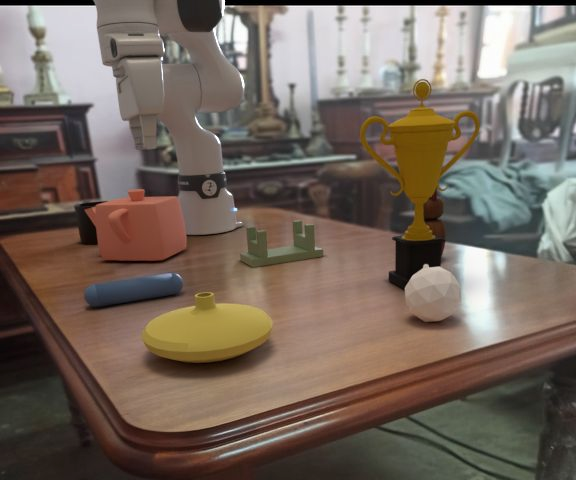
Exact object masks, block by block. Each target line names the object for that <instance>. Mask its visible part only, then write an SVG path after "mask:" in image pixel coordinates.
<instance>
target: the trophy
mask: <svg viewBox="0 0 576 480" xmlns="http://www.w3.org/2000/svg"><path fill="white" fill-rule="evenodd" d="M431 94H432V85H431V82H430V81H429V80H428V79H426V78H420V79H418V80H417V81H415V83H414V84H413V88H412V95H413V97H414V98H415V100H417V101H419V102H420V105H419V106H418V107H415V108H413V109H410V110H409V112H408V113H407V115H406V116H405V117H403V118H400V119H397V120H395V121H393V122H392V123H390V124H389V123H388V122H387V121H386V119H384V118H383V117H380V116H377V115H376V116H370V117H368V118H367V119H366V120H365V121H364V122H363V123H362V125H361V127H360V130H359V139H360V142H361V144H362V147H363V149H364V150H365V151H366V152H367V153H368V154H369V155H370V157H371V158H372V159H374V161H376V163H377V164H378V165H380V166H381V167H382V169H385V171H387V172H388V173H389V174H390V175H391V176H393V177H394V178H395V179H396V180H397V181H398V182H399V184H400V189H399V191H398V192H396V193H394V192H392V190H390V191H389V193H390V194H391V195H392V196H395V197H397V196H400V195H401V194H402V193H403V192H404V194H405V195H406V197H407V198H408V199H409V201H410V202H411V203H413V204H414V210H413V211H414V216H413V217H414V218H413V222H412V223H411V224H410V225H409V226H407V230H405V231H404V234H401V235H395V236H392V237H391V240H392V241H393V242H395V257H394V259H395V261H394V263H395V264H394V265H395V268H394V270H389V271H388V281H389V282H391V283H392V284H394V285H396V286H398V287H399V288H402V289H403V290H405V287H406V285H407V284H408V282H409V280H410V279H411V277H412V276H413V275H414V274H415V273H417V272H418V271H420V270H421V269H423V266H424V265H425V264H428V265H429V268H430V267H442V266H441V265H442V256H441V248H442V242H445V243H446V241H447V239H444V238H442V237H439V236H436V235H433V234H432V230H429V229H430V227H429V226H427V225H426V224H425V222H424V217H423V211H424V210H423V204H424V203H425V202H427V200H428V199H429V197H432V195H433V194H434V192H435V189H436V188H437V190H438V191H440V192H445V191H446V190H448V188H449V187H450V186H449V185H447V186H446V187H445V188H441V187H440V185H439V182H440V179H441V178H442V176H444V174H445V173H446V172H448V170H449V169H450V168H452V167H453V166H454V164H456V163H457V162H458V160H460V159H461V157H463V155H464V154H465V153H466V152H467V151H468V150H469V148H470V147H471V146H472V145H473V143H474V142H475V140H476V139H477V137H478V135H479V132H480V127H481V124H480V120H479V117H478V115H477V114H476V113H475V112H473V111H471V110H463V111H461V112H459V113H458V114H456V115H455V117H454V118H453V120H452V119H450V118H447V117H445V116H441V115H438V114H437V112H436V111H435V110H434V108H432V107H427V106H425V105H424V103H423V102H425V101H427V100H428V99H429V98H430V96H431ZM462 118H469V119H471V120H473V122H474V130H473V134H472V135H471V137H470V138H469V139H468V141H467V142H465V144H464V146H462V148H461V149H460V150H459V151H457V153H456V154H455V155H454V156H453V157H452V158H451V159H450V160H449V161H448V162H447V163H446V164H445V165H444V162H445V158H446V154H447V151H448V145H449V143H450V142H451V141H457V140H458V139H460V138H461V135H462V131H461V128H460V126H459V121H460V120H461V119H462ZM374 123H380V124H381V125H382V127H383V131H382V133H380V134H381V135H380V136H379V137H380V138H379V140H380V143H381V144H382V145H384V146H393V147H394V148H393V149H394V154H395V159H396V164H397V168H398V171H397V170H396V169H395V168H394V167H392V165H390V164H389V163H388V162H387V161H385V160H384V159H383V158H382V157H381V156H380V154H378V153H377V152H376V150H374V149H373V148H372V147H371V146H370V144H369V142H368V141H367V138H366V131H367V129H368V127H369V126H370V125H372V124H374ZM388 131H389V139H387V140H386V136H387V134H388ZM454 131H455V135H454ZM443 165H444V166H443Z"/></svg>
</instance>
